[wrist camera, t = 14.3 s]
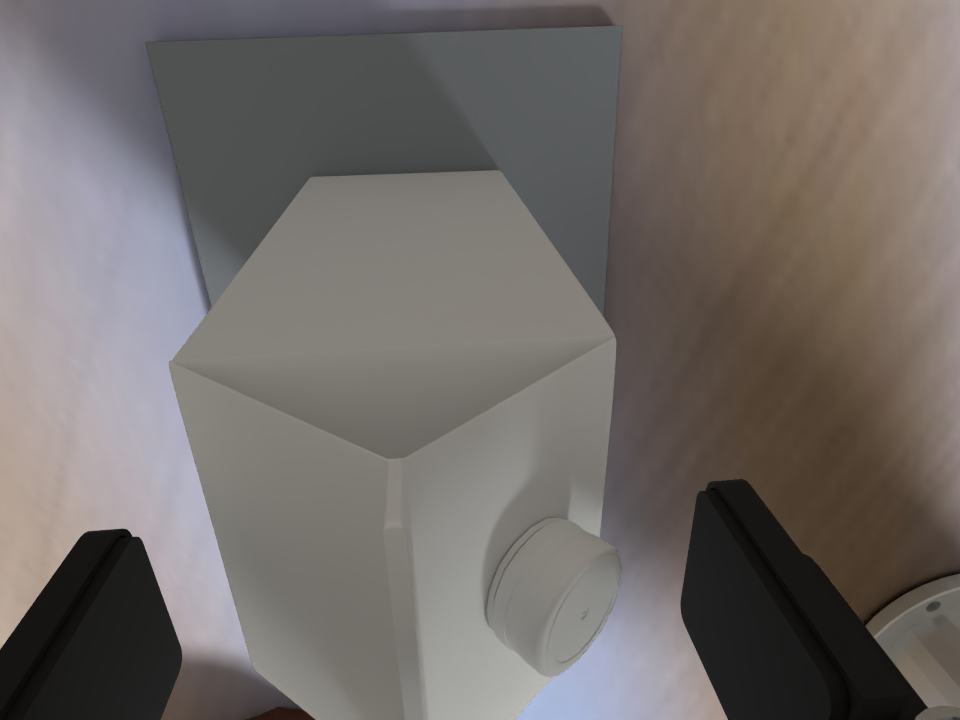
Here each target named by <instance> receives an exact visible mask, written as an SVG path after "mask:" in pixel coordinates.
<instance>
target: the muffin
mask: <svg viewBox="0 0 960 720" xmlns="http://www.w3.org/2000/svg"><path fill="white" fill-rule="evenodd" d="M247 720H316V719H314V718H313V717H312V716H311V715H309V714H308V713H307V712H306V711H304V710H299V709H290V708H281V707H277V708H275V709H273V710H271V711H268V712H266V713H264V714H262V715H260V716H257V717H253V718H250V719H247Z"/></svg>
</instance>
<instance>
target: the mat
mask: <svg viewBox="0 0 960 720" xmlns="http://www.w3.org/2000/svg"><path fill="white" fill-rule="evenodd" d="M621 39H622V25H621V26H593V27H564V28H536V29H507V30H479V31H450V32H422V33H393V34H365V35H336V36H308V37H279V38H251V39H222V40H194V41H165V42H145V43H146V47H147V51H148V55H149V59H150V63H151V67H152V71H153V75H154V79H155V83H156V87H157V91H158V95H159V99H160V103H161V107H162V111H163V115H164V119H165V123H166V127H167V131H168V135H169V139H170V143H171V147H172V151H173V155H174V159H175V163H176V167H177V171H178V175H179V179H180V183H181V187H182V191H183V195H184V199H185V203H186V207H187V211H188V215H189V219H190V223H191V227H192V231H193V235H194V239H195V243H196V247H197V251H198V255H199V259H200V263H201V267H202V271H203V275H204V279H205V283H206V287H207V291H208V295H209V299H210V303H211V307H213V306H214V304H215V303H216V302H217V300H218V299H219V298H220V296H221V295H222V294H223V292H224V291H225V290H226V288H227V287H228V286H229V284H230V283H231V282H232V280H233V279H234V278H235V276H236V275H237V274H238V272H239V271H240V270H241V268H242V267H243V266H244V264H245V263H246V262H247V260H248V259H249V258H250V256H251V255H252V254H253V252H254V251H255V250H256V248H257V247H258V246H259V245H260V243H261V242H262V241H263V239H264V238H265V237H266V235H267V234H268V233H269V231H270V230H271V229H272V227H273V226H274V225H275V223H276V222H277V221H278V219H279V218H280V217H281V215H282V214H283V213H284V211H285V210H286V209H287V207H288V206H289V205H290V203H291V202H292V201H293V199H294V198H295V197H296V195H297V194H298V193H299V191H300V190H301V189H302V187H303V186H304V185H305V183H306V182H307V181H308V180H309V178H310V177H322V176H350V175H377V174H405V173H433V172H461V171H489V170H500V171H501V172H502V173H503V175H504V176H505V178H506V179H507V180H508V182H509V183H510V185H511V186H512V187H513V189H514V190H515V192H516V193H517V195H518V196H519V197H520V199H521V200H522V202H523V203H524V205H525V206H526V207H527V209H528V210H529V212H530V213H531V214H532V216H533V217H534V219H535V220H536V222H537V223H538V224H539V226H540V227H541V229H542V230H543V232H544V233H545V234H546V236H547V237H548V239H549V240H550V241H551V243H552V244H553V246H554V247H555V249H556V250H557V251H558V253H559V254H560V256H561V257H562V259H563V260H564V261H565V263H566V264H567V266H568V267H569V268H570V270H571V271H572V273H573V274H574V276H575V277H576V278H577V280H578V281H579V283H580V284H581V286H582V287H583V288H584V290H585V291H586V293H587V294H588V295H589V297H590V298H591V300H592V301H593V303H594V304H595V305H596V307H597V308H598V310H599V311H600V313H601V314H602V316H603V317H604V302H605V287H606V271H607V256H608V240H609V225H610V209H611V194H612V179H613V163H614V148H615V132H616V117H617V101H618V86H619V70H620V55H621Z"/></svg>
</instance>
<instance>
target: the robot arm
mask: <svg viewBox="0 0 960 720" xmlns="http://www.w3.org/2000/svg"><path fill="white" fill-rule="evenodd" d="M681 614H682V618H683V622H684V624H685V627H686V629H687V631H688V633H689V635H690V638H691V640H692V642H693V644H694V646H695V648H696V651H697V653H698V655H699V657H700V659H701V662H702V664H703V666H704V668H705V670H706V672H707V675H708V677H709V679H710V681H711V683H712V686H713V688H714V690H715V692H716V694H717V696H718V699H719V701H720V703H721V705H722V707H723V710H724V712H725V714H726V716H727V718H728V720H960V574H956V575H952V576H948V577H943V578H940V579H938V580H935V581H932V582H929V583H927V584H924V585H922V586H920V587H918V588H916V589H914V590H912V591H910V592H908V593H906V594H904V595H902V596H901V597H899V598H898V599H896V600H895V601H893V602H892V603H890V604H889V605H887V606H886V607H885V608H884V609H882V610H881V611H880V612H879V613H878V614H876V615H875V616H874V617H873V618H872V619H871V620H870V621H869V622H868V623H867V624H866V625H864V624H863V623H862V622H861V620H860V619H859V618H858V616H857V615H856V614H855V612H854V611H853V610H852V609H851V607H850V606H849V605H848V603H847V602H846V601H845V599H844V598H843V597H842V596H841V594H840V593H839V592H838V590H837V589H836V588H835V587H834V585H833V584H832V583H831V581H830V580H829V579H828V577H827V576H826V575H825V574H824V572H823V571H822V570H821V568H820V567H819V566H818V565H817V564H816V563H815V561H814V560H813V559H812V558H811V557H809V556H807V555H805V554H802V552H801V551H800V550H799V549H798V547H797V546H796V545H795V543H794V542H793V541H792V539H791V538H790V537H789V535H788V534H787V533H786V531H785V530H784V529H783V527H782V526H781V525H780V524H779V522H778V521H777V520H776V518H775V517H774V516H773V514H772V513H771V512H770V510H769V509H768V508H767V506H766V505H765V504H764V502H763V501H762V500H761V498H760V497H759V496H758V495H757V493H756V492H755V491H754V489H753V488H752V487H751V485H750V484H749V483H748V482H747V481H746V480H743V479H738V480H726V481H713V482H710V483H709V484H708V485H707V488H706V491H700V492H699V493H698V495H697V499H696V505H695V512H694V518H693V525H692V531H691V538H690V544H689V551H688V557H687V564H686V570H685V577H684V583H683V590H682V596H681ZM181 662H182V650H181V646H180V643H179V641H178V638H177V635H176V632H175V630H174V627H173V624H172V621H171V619H170V616H169V613H168V610H167V608H166V605H165V602H164V599H163V597H162V594H161V591H160V588H159V586H158V583H157V580H156V577H155V574H154V572H153V569H152V566H151V563H150V561H149V558H148V555H147V552H146V550H145V547H144V544H143V542H142V540H141V539H140V538H139V537H132V535H131V533H130V532H129V531H128V530H127V529H113V530H100V531H89V532H86V533H84V534H83V535H82V536H81V537H80V538H79V540H78V541H77V543H76V544H75V545H74V547H73V548H72V550H71V551H70V552H69V554H68V555H67V557H66V558H65V559H64V561H63V562H62V564H61V565H60V566H59V568H58V569H57V571H56V572H55V573H54V575H53V576H52V578H51V579H50V581H49V582H48V583H47V585H46V586H45V588H44V589H43V590H42V592H41V593H40V595H39V596H38V597H37V599H36V600H35V602H34V603H33V604H32V606H31V607H30V609H29V610H28V611H27V613H26V614H25V616H24V617H23V618H22V620H21V621H20V623H19V624H18V626H17V627H16V628H15V630H14V631H13V633H12V634H11V635H10V637H9V638H8V640H7V641H6V642H5V644H4V645H3V647H2V648H1V649H0V720H160V719H161V717H162V714H163V712H164V709H165V707H166V704H167V702H168V699H169V697H170V694H171V692H172V689H173V687H174V684H175V682H176V679H177V676H178V674H179V671H180V668H181Z"/></svg>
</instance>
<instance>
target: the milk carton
mask: <svg viewBox="0 0 960 720" xmlns="http://www.w3.org/2000/svg"><path fill="white" fill-rule="evenodd" d="M615 364H616V338H615V335H614V333H613V331H612V330H611V328H610V326H609V325H608V323H607V322H606V320H605V319H604V317H603V316H602V314H601V313H600V311H599V310H598V308H597V307H596V305H595V304H594V303H593V301H592V300H591V298H590V297H589V295H588V294H587V293H586V291H585V290H584V288H583V287H582V286H581V284H580V283H579V281H578V280H577V278H576V277H575V276H574V274H573V273H572V271H571V270H570V268H569V267H568V266H567V264H566V263H565V261H564V260H563V259H562V257H561V256H560V254H559V253H558V251H557V250H556V249H555V247H554V246H553V244H552V243H551V241H550V240H549V239H548V237H547V236H546V234H545V233H544V232H543V230H542V229H541V227H540V226H539V224H538V223H537V222H536V220H535V219H534V217H533V216H532V214H531V213H530V212H529V210H528V209H527V207H526V206H525V205H524V203H523V202H522V200H521V199H520V197H519V196H518V195H517V193H516V192H515V190H514V189H513V187H512V186H511V185H510V183H509V182H508V180H507V179H506V178H505V176H504V175H503V173H502V172H501V171H500V170H489V171H461V172H433V173H405V174H377V175H350V176H322V177H310V178H309V180H308V181H307V182H306V183H305V185H304V186H303V187H302V189H301V190H300V191H299V193H298V194H297V195H296V197H295V198H294V199H293V201H292V202H291V203H290V205H289V206H288V207H287V209H286V210H285V211H284V213H283V214H282V215H281V217H280V218H279V219H278V221H277V222H276V223H275V225H274V226H273V227H272V229H271V230H270V231H269V233H268V234H267V235H266V237H265V238H264V239H263V241H262V242H261V243H260V245H259V246H258V247H257V248H256V250H255V251H254V252H253V254H252V255H251V256H250V258H249V259H248V260H247V262H246V263H245V264H244V266H243V267H242V268H241V270H240V271H239V272H238V274H237V275H236V276H235V278H234V279H233V280H232V282H231V283H230V284H229V286H228V287H227V288H226V290H225V291H224V292H223V294H222V295H221V296H220V298H219V299H218V300H217V302H216V303H215V304H214V306H213V307H212V308H211V310H210V311H209V312H208V313H207V315H206V316H205V317H204V319H203V320H202V321H201V323H200V324H199V325H198V327H197V328H196V329H195V331H194V332H193V333H192V335H191V336H190V337H189V339H188V340H187V341H186V343H185V344H184V345H183V347H182V348H181V349H180V351H179V352H178V353H177V355H176V356H175V357H174V359H173V360H172V361H169V368H170V373H171V377H172V381H173V385H174V389H175V392H176V396H177V400H178V403H179V407H180V411H181V414H182V418H183V421H184V425H185V429H186V432H187V436H188V439H189V443H190V446H191V450H192V453H193V457H194V461H195V464H196V468H197V471H198V475H199V478H200V482H201V486H202V489H203V493H204V496H205V500H206V503H207V507H208V510H209V514H210V518H211V521H212V525H213V528H214V532H215V535H216V539H217V543H218V546H219V550H220V553H221V557H222V560H223V564H224V567H225V571H226V575H227V578H228V582H229V585H230V589H231V592H232V596H233V600H234V603H235V607H236V610H237V614H238V617H239V621H240V624H241V628H242V632H243V635H244V639H245V642H246V646H247V649H248V652H249V656H250V659H251V662H252V665H253V667H254V669H255V670H256V671H257V672H258V673H259V674H260V675H261V676H263V677H264V678H265V679H266V680H267V681H269V682H270V683H271V684H272V685H274V686H275V687H276V688H277V689H278V690H280V691H281V692H282V693H283V694H285V695H286V696H287V697H288V698H290V699H291V700H292V701H293V702H295V703H296V704H297V705H298V706H299V707H301V708H302V709H303V710H304V711H306V712H307V713H308V714H309V715H311V716H312V717H313V718H314V719H316V720H515V719H516V718H517V717H518V715H519V714H520V713H521V712H522V711H523V710H524V709H525V708H526V707H527V706H528V705H529V703H530V702H531V701H532V700H533V699H534V698H535V697H536V696H537V695H538V694H539V693H540V691H541V690H542V689H543V688H544V687H545V686H546V685H547V684H548V683H549V682H550V681H551V679H552V678H553V677H554V676H557V675H559V674H561V673H563V672H564V671H566V670H567V669H568V668H569V667H571V666H572V665H573V664H574V663H575V662H576V661H577V660H578V659H579V658H580V657H581V656H582V655H583V654H584V653H585V652H586V650H587V649H588V648H589V647H590V646H591V644H592V643H593V642H594V640H595V639H596V637H597V636H598V634H599V633H600V631H601V630H602V628H603V626H604V625H605V623H606V621H607V619H608V617H609V615H610V612H611V610H612V608H613V605H614V602H615V599H616V596H617V592H618V588H619V584H620V578H621V558H620V556H619V553H618V551H617V550H616V549H615V548H614V547H613V546H612V545H611V544H609V543H607V542H606V541H604V540H602V539H601V538H600V529H601V519H602V508H603V498H604V487H605V477H606V466H607V456H608V445H609V435H610V425H611V414H612V403H613V391H614V379H615Z"/></svg>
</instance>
